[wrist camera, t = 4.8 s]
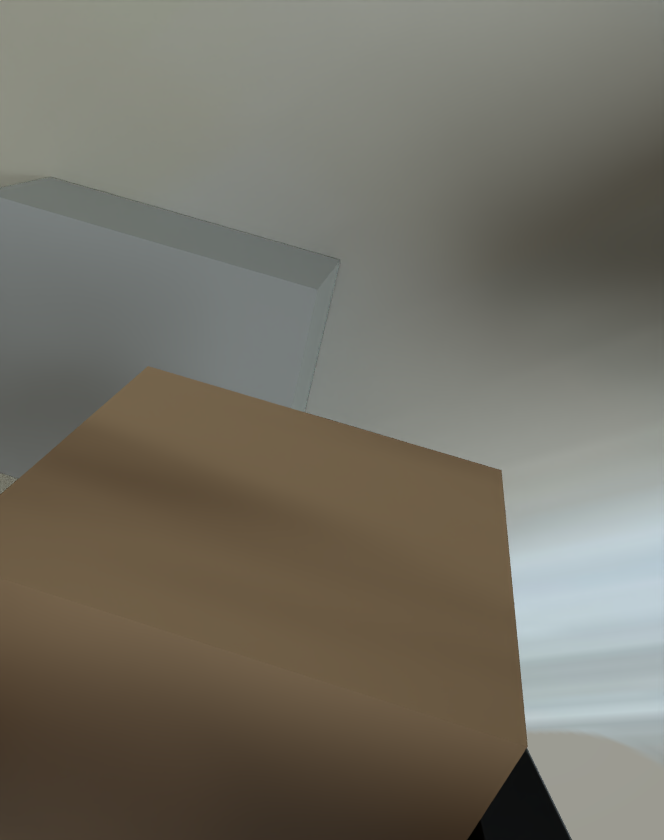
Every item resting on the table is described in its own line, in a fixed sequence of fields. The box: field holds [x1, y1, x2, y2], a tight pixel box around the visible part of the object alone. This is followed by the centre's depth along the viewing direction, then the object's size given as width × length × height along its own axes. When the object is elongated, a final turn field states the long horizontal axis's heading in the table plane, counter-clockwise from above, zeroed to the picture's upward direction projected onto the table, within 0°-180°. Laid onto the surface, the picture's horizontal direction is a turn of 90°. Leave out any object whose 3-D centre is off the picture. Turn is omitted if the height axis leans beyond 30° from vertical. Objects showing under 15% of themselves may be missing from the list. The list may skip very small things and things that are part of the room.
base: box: [0, 177, 340, 479], centre depth 19 cm, size 9×9×3 cm
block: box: [0, 366, 527, 840], centre depth 8 cm, size 5×5×4 cm
